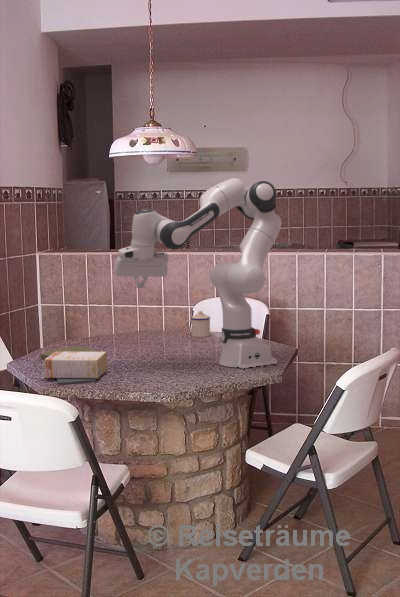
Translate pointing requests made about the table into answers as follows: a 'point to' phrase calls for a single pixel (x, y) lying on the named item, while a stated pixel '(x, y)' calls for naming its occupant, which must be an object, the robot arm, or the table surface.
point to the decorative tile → (68, 349)
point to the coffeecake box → (75, 364)
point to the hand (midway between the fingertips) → (140, 287)
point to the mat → (74, 380)
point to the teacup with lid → (199, 325)
